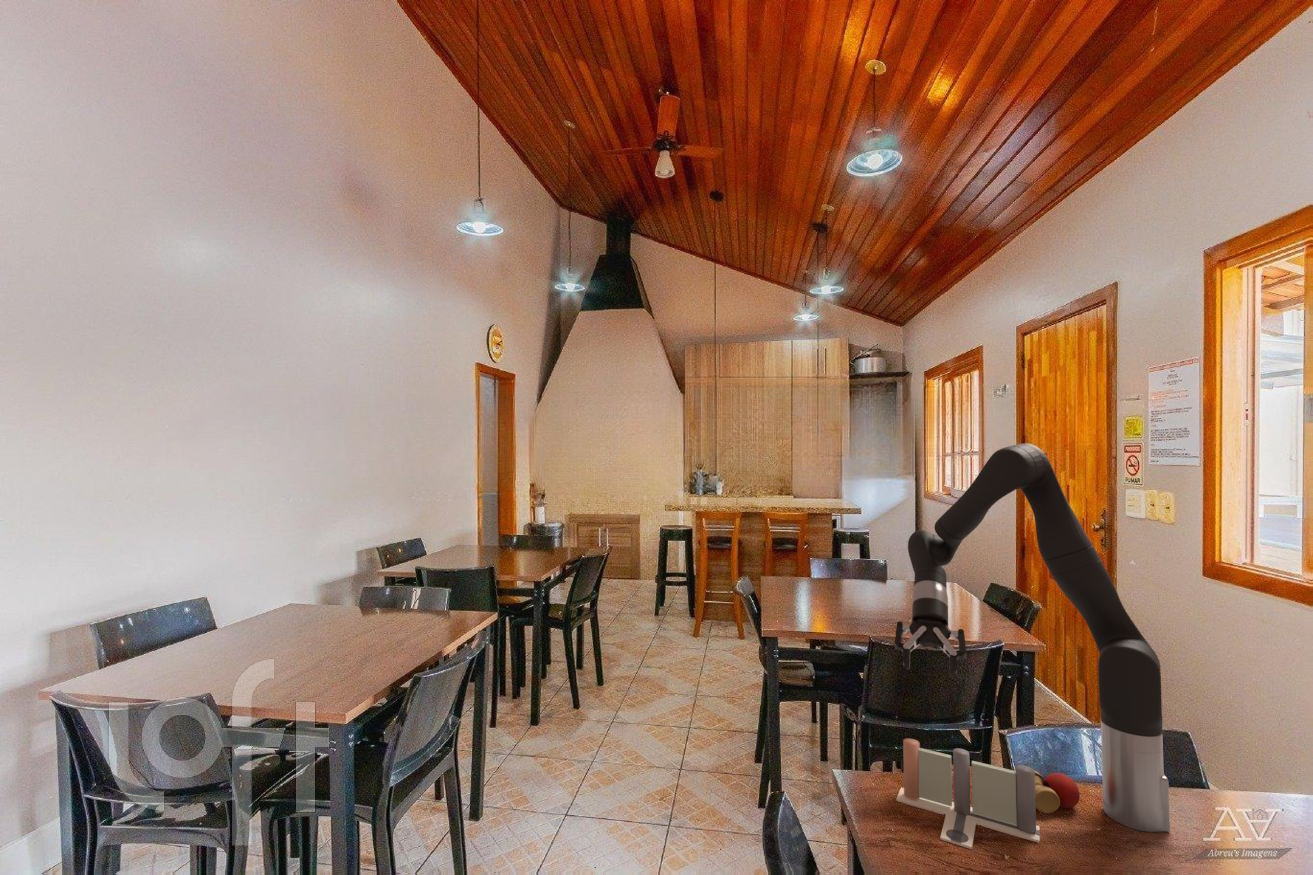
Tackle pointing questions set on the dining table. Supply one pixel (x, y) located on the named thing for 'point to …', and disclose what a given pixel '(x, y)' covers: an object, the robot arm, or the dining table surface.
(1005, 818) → the fence fixed
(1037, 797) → the kendama
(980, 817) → the board
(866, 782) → the dining table surface
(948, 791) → the gate
